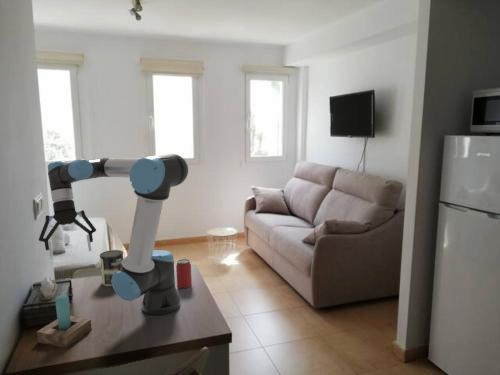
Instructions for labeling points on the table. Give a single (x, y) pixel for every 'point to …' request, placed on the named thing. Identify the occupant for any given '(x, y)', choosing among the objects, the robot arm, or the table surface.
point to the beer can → (183, 273)
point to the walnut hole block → (64, 332)
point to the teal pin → (63, 312)
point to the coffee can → (110, 265)
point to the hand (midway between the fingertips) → (71, 254)
